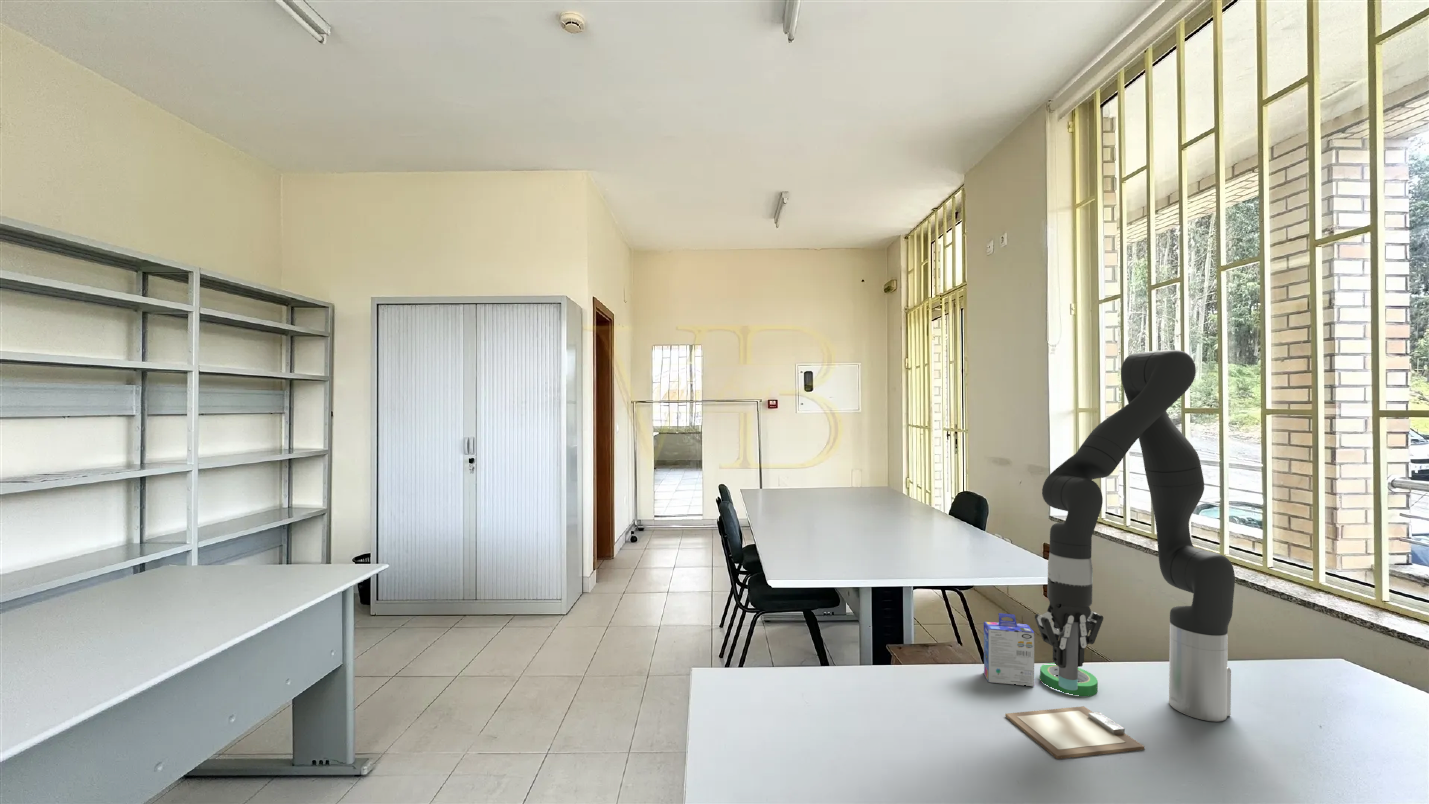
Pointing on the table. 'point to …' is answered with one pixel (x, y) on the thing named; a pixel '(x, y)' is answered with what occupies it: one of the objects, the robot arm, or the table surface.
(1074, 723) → the clipboard
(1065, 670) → the marker
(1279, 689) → the table surface
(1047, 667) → the tape roll
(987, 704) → the table surface
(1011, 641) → the ink cartridge box
